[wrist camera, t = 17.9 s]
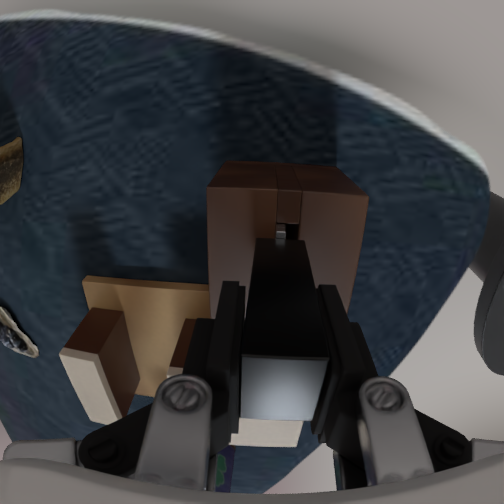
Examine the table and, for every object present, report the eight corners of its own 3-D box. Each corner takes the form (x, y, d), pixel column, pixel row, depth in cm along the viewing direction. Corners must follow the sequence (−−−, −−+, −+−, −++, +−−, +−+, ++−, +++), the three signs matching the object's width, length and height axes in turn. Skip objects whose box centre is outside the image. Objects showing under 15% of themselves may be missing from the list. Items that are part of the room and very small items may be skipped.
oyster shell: (-6, 291, 26) (-16, 301, 24) (46, 341, 28) (38, 352, 26) (-14, 323, 28) (-22, 332, 26) (33, 366, 30) (26, 376, 28)
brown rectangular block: (123, 310, 24) (93, 361, 18) (140, 378, 27) (121, 428, 22) (91, 306, 24) (58, 354, 18) (112, 373, 27) (90, 420, 22)
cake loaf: (305, 324, 24) (313, 383, 18) (293, 392, 27) (296, 447, 22) (185, 317, 24) (165, 374, 18) (193, 386, 27) (181, 439, 22)
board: (340, 289, 23) (343, 297, 22) (314, 400, 29) (315, 408, 28) (87, 275, 24) (81, 281, 23) (118, 383, 29) (115, 390, 28)
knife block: (337, 166, 19) (370, 196, 13) (324, 265, 22) (344, 326, 16) (226, 160, 20) (206, 187, 13) (225, 260, 23) (210, 322, 16)
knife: (294, 192, 19) (333, 348, 7) (291, 238, 21) (311, 427, 8) (261, 190, 19) (239, 344, 7) (259, 236, 21) (238, 424, 8)
